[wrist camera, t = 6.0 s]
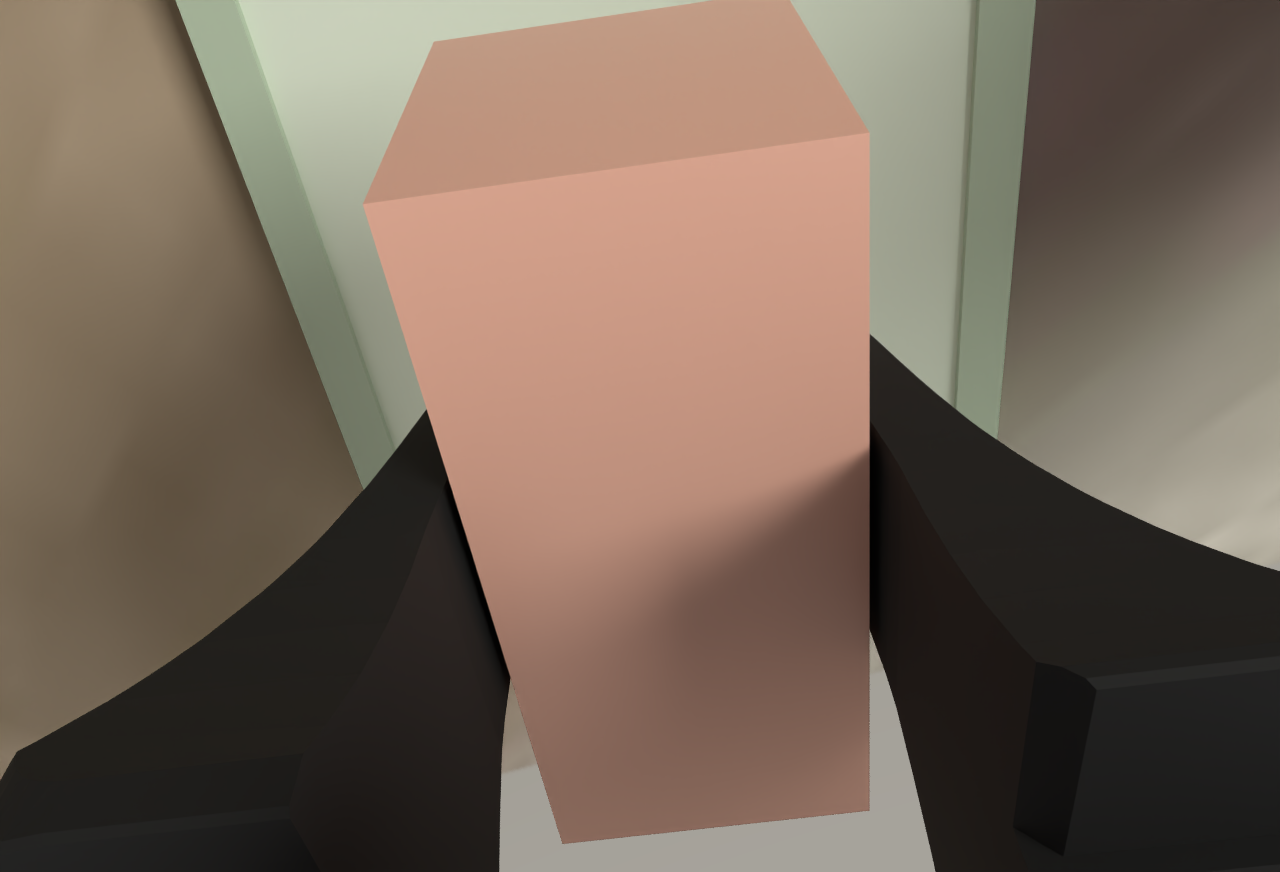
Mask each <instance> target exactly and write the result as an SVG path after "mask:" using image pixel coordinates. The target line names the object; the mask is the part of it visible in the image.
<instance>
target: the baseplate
mask: <svg viewBox="0 0 1280 872" xmlns="http://www.w3.org/2000/svg"><path fill="white" fill-rule="evenodd" d="M705 1H711V0H176V3H177V6H178V8H179V11H180V13H181V16H182V19H183V21H184V24H185V26H186V29H187V32H188V34H189V37H190V39H191V42H192V45H193V47H194V50H195V52H196V55H197V58H198V60H199V63H200V65H201V68H202V71H203V73H204V76H205V78H206V81H207V84H208V86H209V89H210V91H211V94H212V97H213V99H214V102H215V105H216V107H217V110H218V112H219V115H220V118H221V120H222V123H223V125H224V128H225V131H226V133H227V136H228V138H229V141H230V144H231V146H232V149H233V151H234V154H235V157H236V159H237V162H238V164H239V167H240V170H241V172H242V175H243V177H244V180H245V183H246V185H247V188H248V190H249V193H250V196H251V198H252V201H253V203H254V206H255V209H256V211H257V214H258V217H259V219H260V222H261V224H262V227H263V230H264V232H265V235H266V237H267V240H268V243H269V245H270V248H271V250H272V253H273V256H274V258H275V261H276V263H277V266H278V269H279V271H280V274H281V276H282V279H283V282H284V284H285V287H286V289H287V292H288V295H289V297H290V300H291V302H292V305H293V308H294V310H295V313H296V315H297V318H298V321H299V323H300V326H301V329H302V331H303V334H304V336H305V339H306V342H307V344H308V347H309V349H310V352H311V355H312V357H313V360H314V362H315V365H316V368H317V370H318V373H319V375H320V378H321V381H322V383H323V386H324V388H325V391H326V394H327V396H328V399H329V401H330V404H331V407H332V409H333V412H334V414H335V417H336V420H337V422H338V425H339V427H340V430H341V433H342V435H343V438H344V441H345V443H346V446H347V448H348V451H349V454H350V456H351V459H352V461H353V464H354V467H355V469H356V472H357V474H358V477H359V480H360V482H361V485H362V487H363V490H364V489H365V488H366V487H367V486H368V484H369V483H370V482H371V481H372V479H373V478H374V477H375V476H376V474H377V473H378V472H379V470H380V469H381V468H382V467H383V465H384V464H385V463H386V462H387V460H388V459H389V458H390V457H391V455H392V454H393V453H394V452H395V450H396V449H397V448H398V446H399V445H400V444H401V442H402V441H403V440H404V438H405V437H406V436H407V434H408V433H409V432H410V430H411V429H412V428H413V426H414V425H415V424H416V422H417V421H418V420H419V418H420V417H421V416H422V414H423V413H424V412H425V410H426V409H427V408H426V405H425V402H424V399H423V396H422V392H421V389H420V386H419V383H418V380H417V376H416V373H415V370H414V367H413V364H412V360H411V357H410V354H409V351H408V348H407V345H406V341H405V338H404V335H403V332H402V329H401V325H400V322H399V319H398V316H397V313H396V309H395V306H394V303H393V300H392V297H391V293H390V290H389V287H388V284H387V281H386V277H385V274H384V271H383V268H382V265H381V261H380V258H379V255H378V252H377V249H376V245H375V242H374V239H373V236H372V233H371V229H370V226H369V223H368V220H367V217H366V213H365V210H364V207H363V202H364V200H365V198H366V195H367V193H368V191H369V189H370V186H371V184H372V182H373V179H374V177H375V175H376V173H377V170H378V168H379V166H380V163H381V161H382V159H383V157H384V154H385V152H386V150H387V147H388V145H389V143H390V141H391V138H392V136H393V134H394V131H395V129H396V127H397V125H398V122H399V120H400V118H401V115H402V113H403V111H404V109H405V106H406V104H407V102H408V100H409V97H410V95H411V93H412V90H413V88H414V86H415V84H416V81H417V79H418V77H419V74H420V72H421V70H422V68H423V65H424V63H425V61H426V58H427V56H428V54H429V52H430V49H431V47H432V45H433V42H435V41H442V40H449V39H455V38H462V37H469V36H476V35H482V34H489V33H496V32H503V31H509V30H516V29H523V28H529V27H536V26H543V25H550V24H556V23H563V22H570V21H577V20H583V19H590V18H597V17H604V16H610V15H617V14H624V13H631V12H637V11H644V10H651V9H657V8H664V7H671V6H678V5H684V4H691V3H698V2H705ZM790 1H791V3H792V5H793V6H794V8H795V10H796V11H797V13H798V15H799V16H800V18H801V20H802V21H803V23H804V25H805V26H806V28H807V30H808V31H809V33H810V35H811V36H812V38H813V40H814V41H815V43H816V45H817V46H818V48H819V50H820V51H821V53H822V54H823V56H824V58H825V59H826V61H827V63H828V64H829V66H830V68H831V69H832V71H833V73H834V74H835V76H836V78H837V79H838V81H839V83H840V84H841V86H842V88H843V89H844V91H845V93H846V94H847V96H848V98H849V99H850V101H851V103H852V104H853V106H854V108H855V109H856V111H857V113H858V114H859V116H860V118H861V119H862V121H863V123H864V124H865V126H866V128H867V129H868V131H869V133H870V334H871V335H872V336H873V337H874V338H875V339H876V340H878V341H879V342H880V343H881V344H882V345H883V346H884V347H885V348H886V349H887V350H888V351H889V352H891V353H892V354H893V355H894V356H895V357H896V358H897V359H898V360H899V361H900V362H901V363H903V364H904V365H905V366H906V367H907V368H908V369H909V370H910V371H911V372H913V373H914V374H915V375H916V376H917V377H918V378H919V379H920V380H922V381H923V382H924V383H925V384H926V385H927V386H928V387H930V388H931V389H932V390H933V391H934V392H936V393H937V394H938V395H939V396H940V397H942V398H943V399H944V400H945V401H947V402H948V403H949V404H950V405H951V406H953V407H954V408H955V409H956V410H958V411H959V412H960V413H961V414H963V415H964V416H965V417H966V418H968V419H969V420H970V421H972V422H973V423H974V424H975V425H977V426H978V427H979V428H981V429H982V430H984V431H985V432H987V433H988V434H989V435H991V436H992V437H994V438H995V439H997V436H998V425H999V413H1000V402H1001V391H1002V379H1003V368H1004V357H1005V346H1006V334H1007V323H1008V312H1009V300H1010V289H1011V278H1012V266H1013V255H1014V244H1015V232H1016V221H1017V210H1018V198H1019V187H1020V176H1021V164H1022V153H1023V142H1024V130H1025V119H1026V108H1027V96H1028V85H1029V74H1030V62H1031V51H1032V40H1033V28H1034V17H1035V6H1036V0H790Z"/></svg>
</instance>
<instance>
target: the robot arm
mask: <svg viewBox="0 0 1280 872" xmlns="http://www.w3.org/2000/svg"><path fill="white" fill-rule="evenodd" d="M869 501H870V502H869V629H870V632H871V634H872V637H873V640H874V643H875V645H876V648H877V651H878V654H879V656H880V659H881V662H882V664H883V667H884V670H885V673H886V676H887V679H888V682H889V685H890V688H891V691H892V695H893V698H894V701H895V704H896V708H897V712H898V715H899V720H900V724H901V728H902V732H903V736H904V740H905V744H906V748H907V752H908V756H909V760H910V764H911V768H912V772H913V776H914V781H915V785H916V789H917V793H918V798H919V802H920V806H921V810H922V815H923V819H924V823H925V827H926V832H927V836H928V840H929V844H930V849H931V853H932V858H933V862H934V866H935V871H936V872H1280V571H1277V570H1274V569H1270V568H1267V567H1263V566H1260V565H1257V564H1254V563H1251V562H1248V561H1245V560H1242V559H1239V558H1237V557H1234V556H1231V555H1228V554H1226V553H1223V552H1220V551H1217V550H1215V549H1212V548H1209V547H1206V546H1204V545H1201V544H1198V543H1195V542H1193V541H1190V540H1188V539H1185V538H1183V537H1180V536H1178V535H1175V534H1173V533H1170V532H1168V531H1166V530H1163V529H1161V528H1158V527H1156V526H1154V525H1151V524H1149V523H1147V522H1145V521H1143V520H1140V519H1138V518H1136V517H1134V516H1132V515H1130V514H1127V513H1125V512H1123V511H1121V510H1119V509H1117V508H1114V507H1112V506H1110V505H1108V504H1106V503H1104V502H1102V501H1100V500H1098V499H1096V498H1094V497H1092V496H1090V495H1088V494H1086V493H1084V492H1082V491H1080V490H1078V489H1076V488H1075V487H1073V486H1071V485H1070V484H1068V483H1066V482H1064V481H1063V480H1061V479H1059V478H1057V477H1056V476H1054V475H1052V474H1050V473H1049V472H1047V471H1045V470H1043V469H1042V468H1040V467H1038V466H1036V465H1035V464H1033V463H1031V462H1030V461H1028V460H1027V459H1025V458H1023V457H1022V456H1020V455H1019V454H1017V453H1016V452H1014V451H1012V450H1011V449H1010V448H1008V447H1007V446H1005V445H1004V444H1002V443H1001V442H1000V441H998V440H997V439H995V438H994V437H992V436H991V435H989V434H988V433H987V432H985V431H984V430H982V429H981V428H979V427H978V426H977V425H975V424H974V423H973V422H972V421H970V420H969V419H968V418H966V417H965V416H964V415H963V414H961V413H960V412H959V411H958V410H956V409H955V408H954V407H953V406H951V405H950V404H949V403H948V402H947V401H945V400H944V399H943V398H942V397H940V396H939V395H938V394H937V393H936V392H934V391H933V390H932V389H931V388H930V387H928V386H927V385H926V384H925V383H924V382H923V381H922V380H920V379H919V378H918V377H917V376H916V375H915V374H914V373H913V372H911V371H910V370H909V369H908V368H907V367H906V366H905V365H904V364H903V363H901V362H900V361H899V360H898V359H897V358H896V357H895V356H894V355H893V354H892V353H891V352H889V351H888V350H887V349H886V348H885V347H884V346H883V345H882V344H881V343H880V342H879V341H878V340H876V339H875V338H874V337H873V336H872V335H871V334H870V500H869ZM510 678H511V677H510V674H509V671H508V668H507V664H506V661H505V658H504V655H503V652H502V648H501V645H500V642H499V639H498V636H497V632H496V629H495V626H494V623H493V620H492V616H491V613H490V610H489V607H488V604H487V600H486V597H485V594H484V591H483V588H482V584H481V581H480V578H479V575H478V572H477V568H476V565H475V562H474V559H473V556H472V552H471V549H470V546H469V543H468V540H467V536H466V533H465V530H464V527H463V524H462V520H461V517H460V514H459V511H458V508H457V504H456V501H455V498H454V495H453V492H452V488H451V485H450V482H449V479H448V476H447V472H446V469H445V466H444V463H443V460H442V456H441V453H440V450H439V447H438V444H437V440H436V437H435V434H434V431H433V428H432V424H431V421H430V418H429V415H428V412H427V409H426V410H425V412H424V413H423V414H422V416H421V417H420V418H419V420H418V421H417V422H416V424H415V425H414V426H413V428H412V429H411V430H410V432H409V433H408V434H407V436H406V437H405V438H404V440H403V441H402V442H401V444H400V445H399V446H398V448H397V449H396V450H395V452H394V453H393V454H392V455H391V457H390V458H389V459H388V460H387V462H386V463H385V464H384V465H383V467H382V468H381V469H380V470H379V472H378V473H377V474H376V476H375V477H374V478H373V479H372V481H371V482H370V483H369V484H368V486H367V487H366V488H365V489H364V490H363V491H362V492H361V493H360V495H359V496H358V497H357V498H356V499H355V500H354V501H353V502H352V504H351V505H350V506H349V507H348V508H347V509H346V510H345V511H344V513H343V514H342V515H341V516H340V517H339V518H338V519H337V520H336V522H335V523H334V524H333V525H332V526H331V527H330V528H329V529H328V530H327V532H326V533H325V534H324V535H323V536H322V537H321V538H320V539H319V540H318V541H317V542H316V543H315V544H314V545H313V546H312V547H311V548H310V549H309V550H308V551H307V552H306V553H305V554H304V555H303V556H302V557H300V558H299V559H298V560H297V561H296V562H295V563H294V564H293V565H292V566H291V567H290V568H288V569H287V570H286V571H285V572H284V573H283V574H282V575H281V576H280V577H279V578H278V579H276V580H275V581H274V582H273V583H272V584H271V585H270V586H268V587H267V588H266V589H265V590H264V591H263V592H262V593H260V594H259V595H258V596H256V597H255V598H254V599H253V600H251V601H250V602H249V603H248V604H246V605H245V606H244V607H243V608H241V609H240V610H239V611H237V612H236V613H235V614H234V615H232V616H231V617H230V618H229V619H227V620H226V621H225V622H223V623H222V624H221V625H220V626H218V627H217V628H216V629H215V630H213V631H212V632H211V633H210V634H208V635H207V636H206V637H204V638H203V639H202V640H200V641H199V642H197V643H196V644H195V645H193V646H192V647H190V648H189V649H187V650H186V651H185V652H183V653H182V654H180V655H179V656H177V657H176V658H175V659H173V660H172V661H170V662H169V663H167V664H166V665H164V666H163V667H161V668H160V669H158V670H157V671H155V672H154V673H152V674H150V675H149V676H147V677H146V678H144V679H143V680H141V681H140V682H138V683H137V684H135V685H134V686H132V687H130V688H129V689H127V690H126V691H124V692H122V693H121V694H119V695H117V696H116V697H114V698H112V699H111V700H109V701H108V702H106V703H104V704H102V705H101V706H99V707H97V708H95V709H93V710H92V711H90V712H88V713H86V714H85V715H83V716H81V717H79V718H77V719H76V720H74V721H72V722H70V723H69V724H67V725H65V726H63V727H61V728H60V729H58V730H56V731H54V732H53V733H51V734H49V735H47V736H45V737H44V738H42V739H40V740H38V741H37V742H35V743H33V744H31V745H29V746H27V747H25V748H23V749H21V750H19V751H17V753H16V754H15V756H14V758H13V759H12V761H11V763H10V764H9V766H8V768H7V770H6V772H5V773H4V775H3V777H2V779H1V781H0V872H499V847H500V845H499V844H500V840H499V839H500V797H501V763H502V744H503V733H504V722H505V714H506V707H507V699H508V692H509V685H510Z"/></svg>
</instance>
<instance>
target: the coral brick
mask: <svg viewBox="0 0 1280 872" xmlns="http://www.w3.org/2000/svg"><path fill="white" fill-rule="evenodd" d="M363 207H364V210H365V213H366V217H367V220H368V223H369V226H370V229H371V233H372V236H373V239H374V242H375V245H376V249H377V252H378V255H379V258H380V261H381V265H382V268H383V271H384V274H385V277H386V281H387V284H388V287H389V290H390V293H391V297H392V300H393V303H394V306H395V309H396V313H397V316H398V319H399V322H400V325H401V329H402V332H403V335H404V338H405V341H406V345H407V348H408V351H409V354H410V357H411V360H412V364H413V367H414V370H415V373H416V376H417V380H418V383H419V386H420V389H421V392H422V396H423V399H424V402H425V405H426V408H427V412H428V415H429V418H430V421H431V424H432V428H433V431H434V434H435V437H436V440H437V444H438V447H439V450H440V453H441V456H442V460H443V463H444V466H445V469H446V472H447V476H448V479H449V482H450V485H451V488H452V492H453V495H454V498H455V501H456V504H457V508H458V511H459V514H460V517H461V520H462V524H463V527H464V530H465V533H466V536H467V540H468V543H469V546H470V549H471V552H472V556H473V559H474V562H475V565H476V568H477V572H478V575H479V578H480V581H481V584H482V588H483V591H484V594H485V597H486V600H487V604H488V607H489V610H490V613H491V616H492V620H493V623H494V626H495V629H496V632H497V636H498V639H499V642H500V645H501V648H502V652H503V655H504V658H505V661H506V664H507V668H508V671H509V674H510V677H511V680H512V684H513V687H514V690H515V693H516V696H517V700H518V703H519V706H520V709H521V712H522V716H523V719H524V722H525V725H526V728H527V732H528V735H529V738H530V741H531V744H532V748H533V751H534V754H535V757H536V760H537V764H538V767H539V770H540V773H541V776H542V779H543V783H544V786H545V789H546V792H547V796H548V799H549V802H550V805H551V808H552V812H553V815H554V818H555V821H556V824H557V828H558V831H559V834H560V837H561V840H562V844H566V843H576V842H585V841H594V840H604V839H612V838H622V837H630V836H640V835H650V834H659V833H667V832H676V831H686V830H696V829H705V828H714V827H723V826H732V825H741V824H750V823H760V822H769V821H779V820H788V819H797V818H806V817H816V816H824V815H834V814H843V813H852V812H860V811H869V502H870V501H869V500H870V133H869V131H868V129H867V128H866V126H865V124H864V123H863V121H862V119H861V118H860V116H859V114H858V113H857V111H856V109H855V108H854V106H853V104H852V103H851V101H850V99H849V98H848V96H847V94H846V93H845V91H844V89H843V88H842V86H841V84H840V83H839V81H838V79H837V78H836V76H835V74H834V73H833V71H832V69H831V68H830V66H829V64H828V63H827V61H826V59H825V58H824V56H823V54H822V53H821V51H820V50H819V48H818V46H817V45H816V43H815V41H814V40H813V38H812V36H811V35H810V33H809V31H808V30H807V28H806V26H805V25H804V23H803V21H802V20H801V18H800V16H799V15H798V13H797V11H796V10H795V8H794V6H793V5H792V3H791V1H790V0H711V1H705V2H698V3H691V4H684V5H678V6H671V7H664V8H657V9H651V10H644V11H637V12H631V13H624V14H617V15H610V16H604V17H597V18H590V19H583V20H577V21H570V22H563V23H556V24H550V25H543V26H536V27H529V28H523V29H516V30H509V31H503V32H496V33H489V34H482V35H476V36H469V37H462V38H455V39H449V40H442V41H435V42H433V45H432V47H431V49H430V52H429V54H428V56H427V58H426V61H425V63H424V65H423V68H422V70H421V72H420V74H419V77H418V79H417V81H416V84H415V86H414V88H413V90H412V93H411V95H410V97H409V100H408V102H407V104H406V106H405V109H404V111H403V113H402V115H401V118H400V120H399V122H398V125H397V127H396V129H395V131H394V134H393V136H392V138H391V141H390V143H389V145H388V147H387V150H386V152H385V154H384V157H383V159H382V161H381V163H380V166H379V168H378V170H377V173H376V175H375V177H374V179H373V182H372V184H371V186H370V189H369V191H368V193H367V195H366V198H365V200H364V202H363Z"/></svg>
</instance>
